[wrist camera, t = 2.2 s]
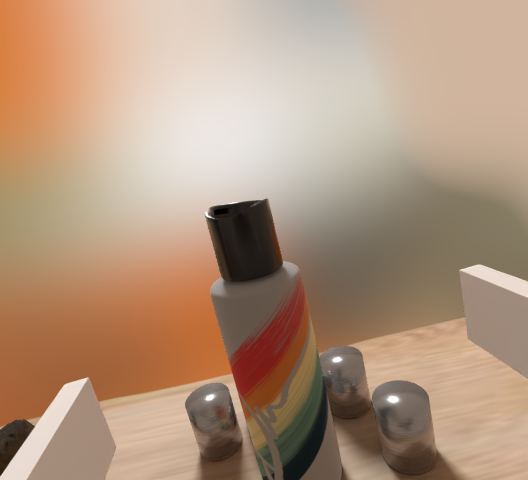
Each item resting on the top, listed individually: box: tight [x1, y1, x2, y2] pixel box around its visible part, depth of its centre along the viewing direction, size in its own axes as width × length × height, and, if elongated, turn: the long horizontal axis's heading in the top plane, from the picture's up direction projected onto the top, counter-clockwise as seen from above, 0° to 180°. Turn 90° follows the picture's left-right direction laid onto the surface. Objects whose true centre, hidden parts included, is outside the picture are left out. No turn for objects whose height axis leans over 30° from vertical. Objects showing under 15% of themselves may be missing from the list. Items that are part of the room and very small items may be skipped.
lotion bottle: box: [205, 199, 342, 480], centre depth 23 cm, size 6×6×20 cm
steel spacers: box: [185, 346, 437, 475], centre depth 30 cm, size 18×12×4 cm, turn 83°
